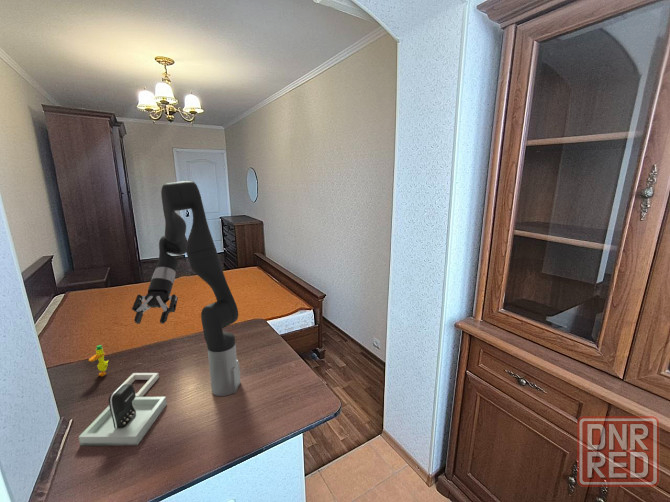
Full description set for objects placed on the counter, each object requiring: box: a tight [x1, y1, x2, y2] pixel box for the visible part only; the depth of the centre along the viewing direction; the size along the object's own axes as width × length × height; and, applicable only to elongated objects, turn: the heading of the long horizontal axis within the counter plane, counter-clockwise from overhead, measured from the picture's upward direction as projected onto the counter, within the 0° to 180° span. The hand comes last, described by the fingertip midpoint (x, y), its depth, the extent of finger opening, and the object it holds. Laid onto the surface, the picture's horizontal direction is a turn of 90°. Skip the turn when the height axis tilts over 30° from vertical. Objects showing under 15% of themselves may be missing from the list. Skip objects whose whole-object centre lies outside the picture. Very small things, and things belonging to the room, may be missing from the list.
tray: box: [78, 396, 168, 447], centre depth 93 cm, size 16×16×3 cm
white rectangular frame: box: [122, 372, 160, 397], centre depth 109 cm, size 9×12×2 cm
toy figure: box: [88, 344, 109, 377], centre depth 115 cm, size 7×4×12 cm, turn 166°
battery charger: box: [108, 383, 136, 429], centre depth 92 cm, size 7×4×11 cm, turn 0°
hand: (149, 323), depth 107 cm, fingers open, 8 cm apart
